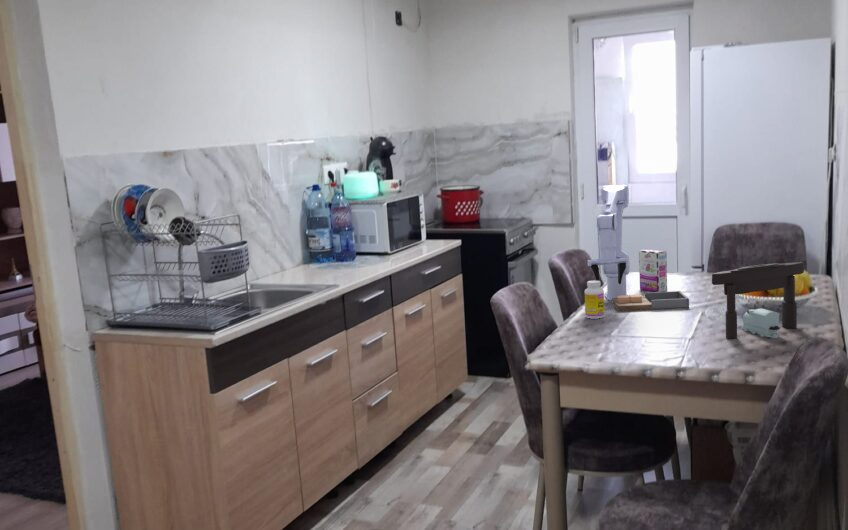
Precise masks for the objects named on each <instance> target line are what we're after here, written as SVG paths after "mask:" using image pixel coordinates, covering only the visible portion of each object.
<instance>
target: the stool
mask: <svg viewBox="0 0 848 530" xmlns="http://www.w3.org/2000/svg"><path fill="white" fill-rule="evenodd" d="M804 273H805V263H804V262H803V261H796V262H787V263H786V262H785V263H776V262H775V263H766V264H757V265H749V266H743V267H739V268H736V269H730V270H724V271H718V272H714V273H712V275H711V284H712V286H719V285H723V293H724V296H726V310H725V338H726V339H733V340H734V339H737V338H738V312H737V310H736V295H743V294H744V295H745V294H750V293H751V294H752V293H758V292H763V291H764V292H765V291H773V290H778V289H783V299H782V301H781V314H780V313H779V312H776V311H773V310H770V309H765V308H756V309H754V308H753V309H747V311H746V312H745V313H744V314H743V316H742V325H741V328H740V330H743V332H745V331H747V332H751V334H753V335H755V334H756V333H757V335H759V337H762V338H763V337H767V338H772V339H773V338H774V339H777V338H779V332H778V330H781V327H780V315H781V326H782V328H786V329H797V326H798V325H797V323H798V322H797V321H798V314H797V313H798V311H797V310H798V308H797V307H798V305H797V301H796V277H795V275H801V274H804Z"/></svg>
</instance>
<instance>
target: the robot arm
mask: <svg viewBox="0 0 848 530" xmlns="http://www.w3.org/2000/svg"><path fill="white" fill-rule="evenodd" d="M600 191H601V192H600V193H601V194H600V195H601V200H602V204H603V205H602V207H601V209H600V210H601V211H600V214H599V215H598V216H597V217H596V227H597V234H598V238H599V239H598V241H599V258H594V259H587V266H588V267H590V268H591V271H592V272H593V275H594V277H595V280H596V281H600V268H599V266H601V267H602V274H603V275H604V276H605V277H606V288H607V291H606V292H607V293H606V294H605V293H604V297H605V298H606V299H607V301H612V298H617V296H620V295H627V276H628V275H629V274H630V269H631V268H630V265H631V263H630V257H629V254H628V253H626V252H625V251H624V250H623V213H624V210H625V209H626V208H628V207H629V201H630V200H629V196H630V195H629V185H628V184H621V185H619V184H616V185H615V184H614V185H602V187H601V189H600Z"/></svg>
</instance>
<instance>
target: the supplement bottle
mask: <svg viewBox="0 0 848 530" xmlns="http://www.w3.org/2000/svg"><path fill="white" fill-rule="evenodd" d="M586 285H587V288H585V289H584V311H585V312H584V315H585V317H586V318H587V319H589V318H590V320H598V319H599V318H600V319H603V318H604V317H605V291H604V289H603V288H601V285H602V284H601V281H600V280H599V281H596V279H595V280H588V281H587V282H586ZM600 319H599V320H600Z"/></svg>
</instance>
